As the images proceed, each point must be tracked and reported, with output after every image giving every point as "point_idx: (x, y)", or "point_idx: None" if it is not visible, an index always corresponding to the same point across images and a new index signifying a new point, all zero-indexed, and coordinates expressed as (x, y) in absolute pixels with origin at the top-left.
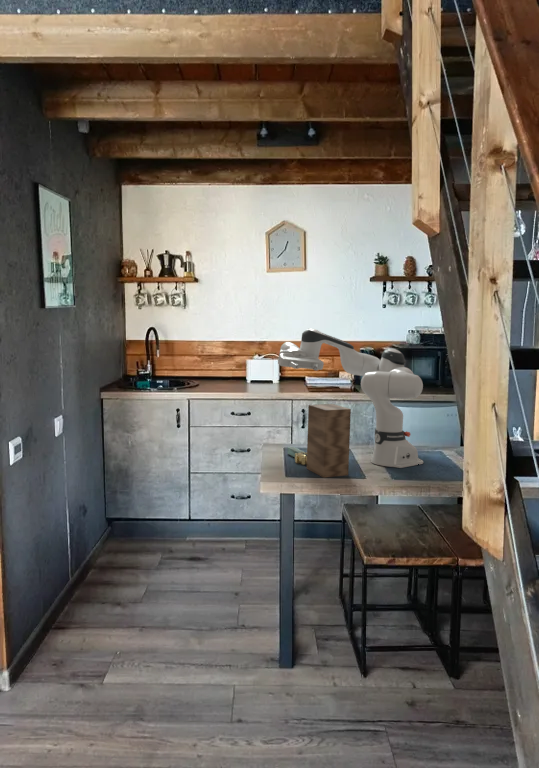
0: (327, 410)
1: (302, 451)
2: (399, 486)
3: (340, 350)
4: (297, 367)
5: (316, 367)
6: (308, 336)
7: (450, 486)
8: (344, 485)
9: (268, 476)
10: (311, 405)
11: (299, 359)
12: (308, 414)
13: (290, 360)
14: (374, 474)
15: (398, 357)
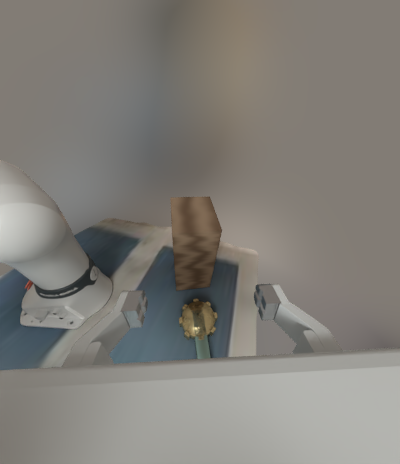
0: (207, 197)
1: (198, 345)
2: (150, 225)
3: None
4: (256, 291)
5: (135, 291)
6: None
7: (111, 218)
8: None
9: (256, 269)
10: (218, 225)
11: (250, 394)
12: (219, 241)
13: (340, 350)
14: (145, 255)
15: None
